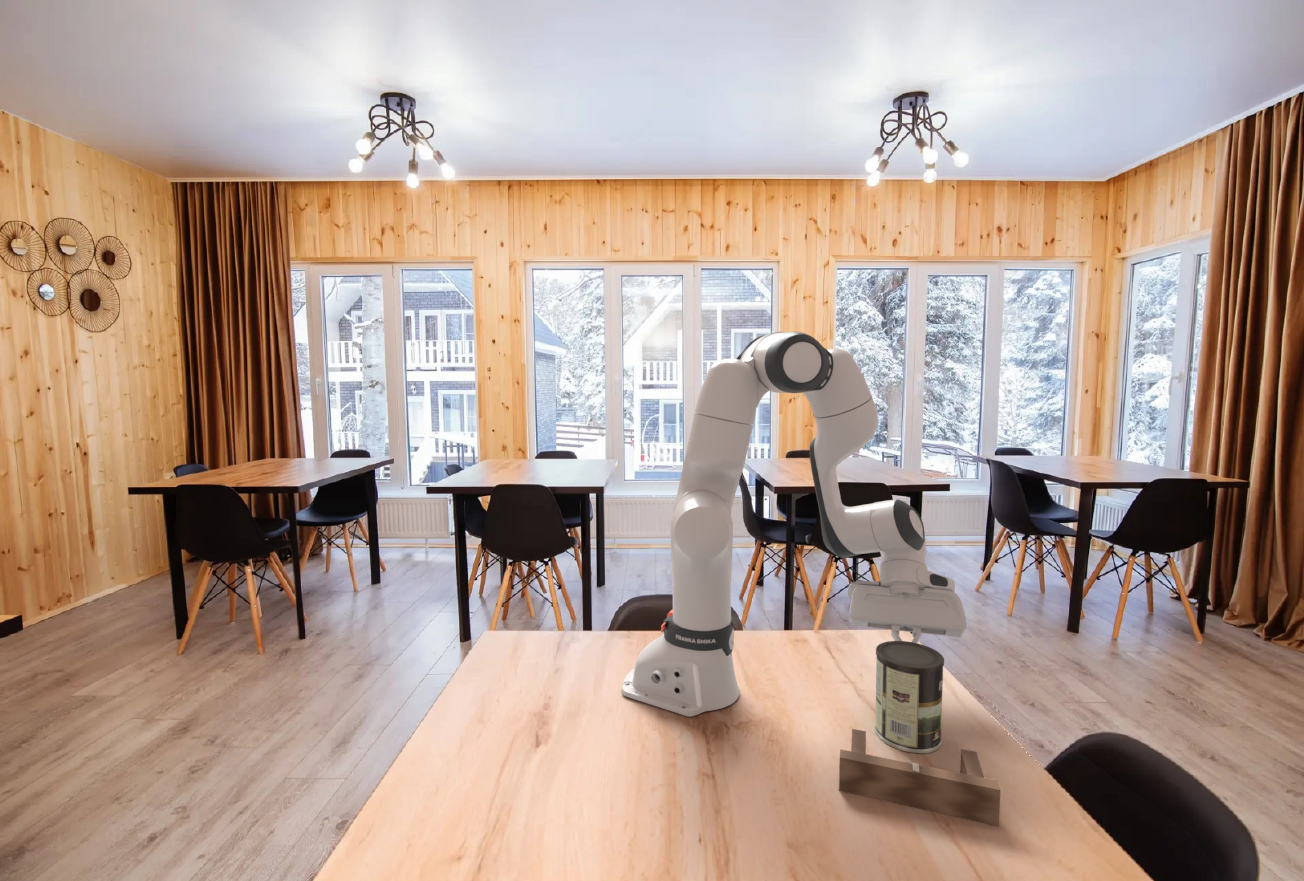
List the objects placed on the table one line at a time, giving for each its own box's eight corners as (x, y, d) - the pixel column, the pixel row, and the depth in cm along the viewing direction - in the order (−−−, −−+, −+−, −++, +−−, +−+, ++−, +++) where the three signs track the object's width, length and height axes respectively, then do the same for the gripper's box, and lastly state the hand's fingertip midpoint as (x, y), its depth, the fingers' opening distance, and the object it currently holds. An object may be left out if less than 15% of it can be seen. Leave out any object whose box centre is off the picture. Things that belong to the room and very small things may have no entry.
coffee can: (931, 721, 99) (934, 642, 98) (950, 757, 89) (952, 670, 88) (869, 714, 101) (870, 637, 100) (880, 750, 91) (882, 665, 90)
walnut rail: (839, 790, 82) (839, 756, 82) (841, 757, 90) (841, 725, 89) (999, 826, 75) (1000, 788, 75) (987, 787, 82) (988, 752, 82)
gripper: (848, 571, 114) (846, 638, 106) (963, 580, 107) (971, 653, 99) (848, 586, 119) (847, 651, 110) (959, 595, 112) (966, 666, 103)
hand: (906, 652), depth 104 cm, fingers closed
